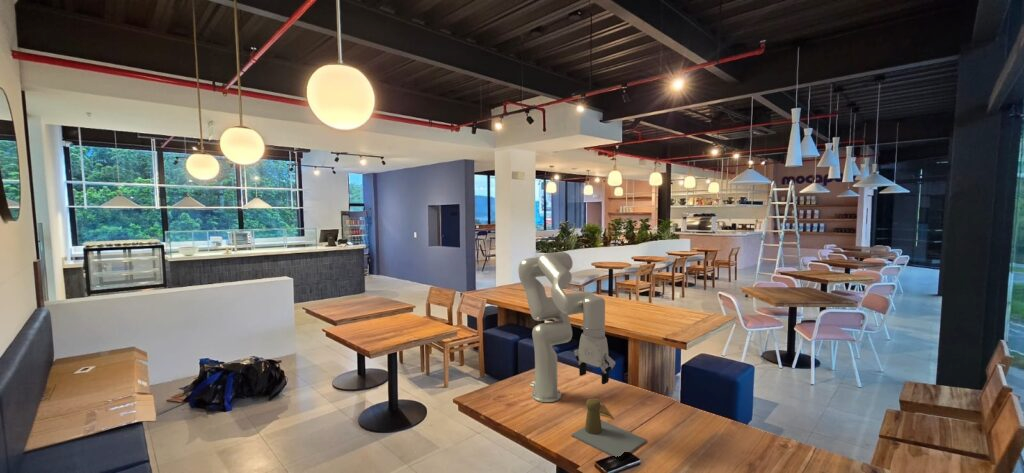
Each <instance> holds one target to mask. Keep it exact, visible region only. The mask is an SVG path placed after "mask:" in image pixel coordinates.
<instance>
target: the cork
mask: <svg viewBox="0 0 1024 473" xmlns="http://www.w3.org/2000/svg"><path fill="white" fill-rule="evenodd" d="M601 404H602V403H601V401H600V400H598V399H597V398H588V399H587V400H586V402H585V406H586V409H587V410H586V419H585V424H584V425H585V426H584V427H585V431H586V432H587V433H589V434H600V433H601V432H602V427H601V420H602V419H601V415H600V412H599V410H600V407H601Z"/></svg>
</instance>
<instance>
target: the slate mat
mask: <svg viewBox="0 0 1024 473" xmlns="http://www.w3.org/2000/svg"><path fill="white" fill-rule="evenodd" d="M601 427H602V432H601V433H600V434H589V433H587V432H586V431H585V426H584V427H581V429H579V430H576V431H575V432H573V433H571V435H570V436H571V437H572V438H575V439H577V440H579V441H581V442H582V443H585V444H586V445H588V446H590V447H592V448H594V449H597V450H599V451H601V452H603V453H605V454H606V455H608V456H611V457H612V456H615V457H617V456H618V457H619V456H621V455H622V454H623V453H624V452H631V453H633V452H634V451H635V450H637V449H638V448H639V447H641V446H642V445H644V444H645V443H646V442H647V441H648V440H647V439H645V438H644V437H641V436H639V435H638V434H634V433H632V432H630V431H629V430H625V429H623V428H621V427H619V426H616V425H613V424H612V423H609V422H607V421H604V420H603V419H601Z"/></svg>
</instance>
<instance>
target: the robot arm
mask: <svg viewBox="0 0 1024 473" xmlns="http://www.w3.org/2000/svg"><path fill="white" fill-rule="evenodd" d="M573 264H574V263H573V259H572V256H571V255H570V254H569V253H567V252H565V251H564V252H563V251H559V252H547V253H543V254H542V255H540V256H538V257H528V258H524V259H523V260H521V261H520V262H519V264H518V271H517V272H518V277H519V280H520V283H521V285H522V288H523V289H524V292H525V295H526V296H525V297H526V300H527V304H528V308H529V312H530V315H531V318H532V319H533V320H534V321H539V322H540V321H541V322H542V321H548V320H553V321H550V322H543V323H539V324H537V325H535V326H534V327H533V328H532V332H531V334H532V335H531V336H532V337H531V338H532V340H533V350H534V373H535V374H534V377H535V378H534V380H532V382H531V383H530V384H529V387H530V388H533V391H532V392H531V398H532V399H533V400H535V401H537V402H541V403H553V402H554V403H556V402H557V401H559V400H560V399H561V398H562V392H561V391H560V390H558V354H557V352H556V351H555V349H554V348H553V346H555V345H560V344H565V343H569V342H570V341H571V340H572V337H573V328H572V324H571V321H570V317H569V316H572V315H577V314H578V315H579V314H583V316H582V323H583V324H582V325H581V327H580V330H583V332H582V333H581V335H580V338H579V345H578V349H577V348H576V349H574V350H573V354H574V356H575V359H576V361H577V364H578V365H579V366H578V368H579V372H578V373H579V376H580V377H582V376H585V375H586V374H587V365H589V366H593V367H596V368H600V369H601V371H602V372H601V385H605V384H608V383H609V381H610V372H611V371H612V370H614V367H615V366H616V361H615V360H614V359H613V358H612V357H611V356H609V346H608V339H607V337H606V301H605V299H604V298H603V297H601V296H599V295H597V296H596V295H595V294H594V293H592V292H590V291H582V292H572V293H566V292H565V291H564V289H565V288H566V287H568V286H569V285H570V284H571V281H572V279H573V278H572V277H573V276H572V272H571V269H572V268H573ZM540 277H541V278H542V277H546V278H547V279H548V281H549V282H550V284H551V288H550V294H551V296H549V297H548V296H547V294H546V289H545V287H544V285H543V284H542V283H541V281H540V280H538V279H537V278H540ZM608 363H609V364H608Z"/></svg>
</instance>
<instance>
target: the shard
mask: <svg viewBox="0 0 1024 473" xmlns="http://www.w3.org/2000/svg"><path fill="white" fill-rule="evenodd" d="M600 404H601V407H600V410H599V412H600V417H601V416H602V417H605V418H608V419H612V418H613V415H612V414H611V413H610V411H609V409H607V406H606V405H605V404H604V403H600Z"/></svg>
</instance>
